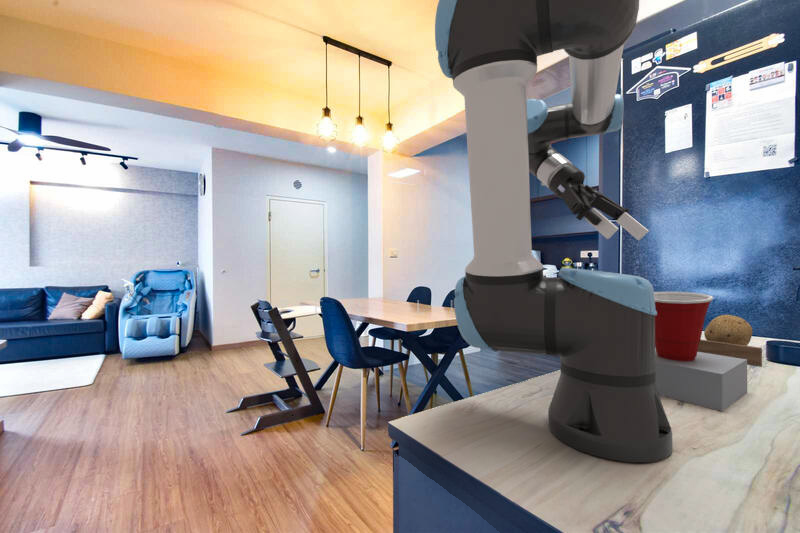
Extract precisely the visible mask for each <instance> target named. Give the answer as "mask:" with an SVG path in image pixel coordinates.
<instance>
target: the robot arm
mask: <svg viewBox="0 0 800 533" xmlns="http://www.w3.org/2000/svg"><path fill="white" fill-rule="evenodd" d="M639 10H640V0H438V3H437V6H436V11H435V20H434V41H435V50H436V51H437V60H438V64H439V67H440V70H441V72H442V74H443V75H444V76H445V77H446V78H448V79H452V87H453V88H454V89H455V90H456V91H457V92H458V93H460V94H461V95H462V96H463V99H464V111H465V113H464V114H465V127H466V128H465V129H466V130H465V131H466V145H467V147H466V148H467V163H468V175H469V176H468V177H469V191H470V192H469V193H470V194H469V195H470V209H471V213H470V214H471V224H472V226H471V227H472V240H473V241H472V242H473V258H472V260H471V261H470V262H469V263H468V264H467V265H466V266H465V268H464V269H465V270H464V271H465V272H464V273H465V274H464V276H462V277H460V278H459V279H458V280H457V282H456V284H455V287H454V296H455V297H454V299H453V306H454V314H455V320H456V324H457V328H458V330H459V333H460V335H461V337H462V338H463V340H465V342H466V343H467V344H468V345H469V346H471V347H473V348H476V349H477V348H478V349H483V350H489V351H492V352H506V353H507V352H508V353H517V354H519V353H521V354H528V355H529V354H531V355H540V356H553V357H559V359H560V375H559V379H558V380H557V383H556V386H555V390H554V392H553V396H552V399H551V401H550V404H549V407H548V411H547V412H548V414H547V416H548V418H547V420H548V423H547V425H548V426H547V427H548V428H549V430H550V432H551V434H552V435H553V436H555V437H556V438H557V439H558V440H559V441H561V442H563V443H564V444H566V445H568V446H569V447H571V448H574V449H575V450H578V451H580V452H583V453H585V454H589V455H592V456H596V457H599V458H603V459H607V460H611V461H618V462H619V461H620V462H625V463H626V462H628V463H650V462H656V461H662V460H663V459H666V458H667V457H669V456H670V455H671V454H672V453H673V446H674V445H673V431H672V427H671V424H670V422H669V419H668V417H667V414H666V411H665V408H664V406H663V404H662V400H661V398H660V397H661V396H660V395H658V392H657V389H656V382H655V315H657V311H656V309H655V298H654V292H655V291H654V287H653V284H652V283H651V282H650V281H649V280H648V279H646V278H644V277H641V276H639V275H631V274H625V273H624V274H623V273H618V272H609V271H601V270H591V269H584V268H581V269H580V268H571V267H561V268H560V270H559V272H558V274H557V276H558V277H554V276H553V277H546V276H544V265H543V263H541V262H540V261H539V260H538V259H536V257H535V256H534V254H533V249H532V222H531V218H532V216H531V195H530V194H531V193H530V192H531V191H530V187H531V186H530V173H531V174H532V175H533V176H534V177H536V179H538V180H539V181H540V182H541V183H540V185H541V186H543V187H544V186H545V187H546V188H548V189H549V190H550V192H552V193H553V195H555V196H556V197H557V198H559V199H561V200H563V201H564V203H565V205H566V206H567V207H568V209H569V210H570V212H571V213H572V214H573V215H576V216H575V218H576V219H578V220H579V221H582V220H583V219H584V220H585V221H586V222H588V223H589V224H590V225H591V226H592V227H593V229H595V230H597V232H598V233H599V234H601V235H602V236H603V237H604V238H605V239H606V240H609V239H610V238H611V237H612V236H613V235H614V234H615V233H616V232H617V231H618V230H619V227H617V225H616V224H614V223H613V222H612V221H611V220H610V219H608V218H607V217H606V216H605V215H607V216H609V217H611V219H614V220H616V221H615V222H616V223H617V224H618V225H619V226H621V227H622V228H623V229H624V230H626V231H627V232H628V234H630V235H631V236H632V237H634V238H635V239H636V240H638V241H641V239H642V238H644V237H645V235H646V234H648V233H649V232H650V230H649V229H647V228H646V227H645V226H644V225H642V224H641V223H640V222H639V221H637V220H636V219H635V218H634V217H632V216H631V215H630V214H629V211H630V209H629V208H628V207H626V208H625V207H623V206H622V205H620V204H618V203H617V202H615V201H613V200H612V199H610V198H609V197H608V196H606V195H605V194H603V193H601V192H600V191H599V190H598V189H596V188H595V187H592V186H590V185H588V184H584V181H585V179H586V176H585V173H584V171H582V170H581V169H580V168H578V167H577V166H576V165H575V164H573V163H572V162H571V161H570V160H569V159H568V158H566V157H565V156H564V155H562V154H561V153H559V152H558V151H557V150H556V149H554V148H553V147H552V144H551V142H554V141H555V142H556V141H562V140H568V139H575V138H581V137H588V136H591V137H592V136H596V135H605V134H608V133H611V132H617V131H618V130H621V129H622V127H623V122H624V114H625V113H624V111H625V110H624V109H625V108H624V97H623V95H621V94H619V93H617V90H618V89H617V88H618V82H619V76H620V71H621V70H620V69H621V64H622V59H623V52H624V47H625V44H626V43H627V41H628V40H629V39H630V38H631V37H632V36H631V35H632V34H633V32H634V30H635V28H636V24H637V20H638V15H639ZM562 50H564V52H565V53H566V54H567V55H568V62H569V76H570V78H569V79H570V92H571V102H568V103H564V104H559V105H553V106H547V103H546V102H545V101H544V100H542V99H536V98H528V99H527V86H528V84H529V83H530V81H531V80H532V79H533V78H534V77H535V75H536V74H537V73H538V57H539V56H543V55H546V54H550V53H554V52H557V51H562ZM601 212H602V213H603V214H602V213H601ZM604 214H605V215H604Z"/></svg>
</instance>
